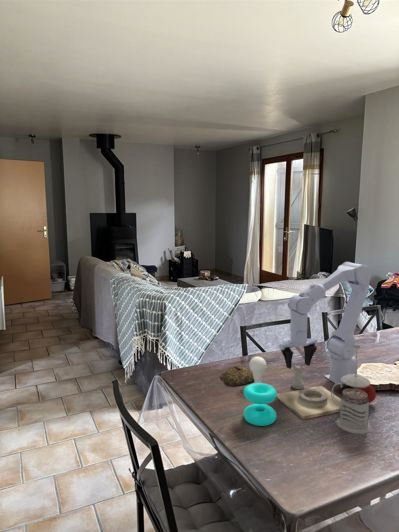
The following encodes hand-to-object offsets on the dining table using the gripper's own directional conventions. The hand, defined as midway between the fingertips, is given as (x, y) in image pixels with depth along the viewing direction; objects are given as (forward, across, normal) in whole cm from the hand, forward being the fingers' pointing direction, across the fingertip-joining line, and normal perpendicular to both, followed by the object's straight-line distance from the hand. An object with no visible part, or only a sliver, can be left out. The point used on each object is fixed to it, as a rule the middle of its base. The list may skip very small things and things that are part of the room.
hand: (298, 366), depth 144 cm
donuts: (+8, +23, +15) cm, 29 cm away
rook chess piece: (+8, 0, 0) cm, 8 cm away
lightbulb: (+8, +13, -6) cm, 16 cm away
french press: (+8, -1, +27) cm, 28 cm away
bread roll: (+8, +17, -15) cm, 24 cm away
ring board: (+8, +2, +12) cm, 14 cm away
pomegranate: (+8, -14, +19) cm, 25 cm away
